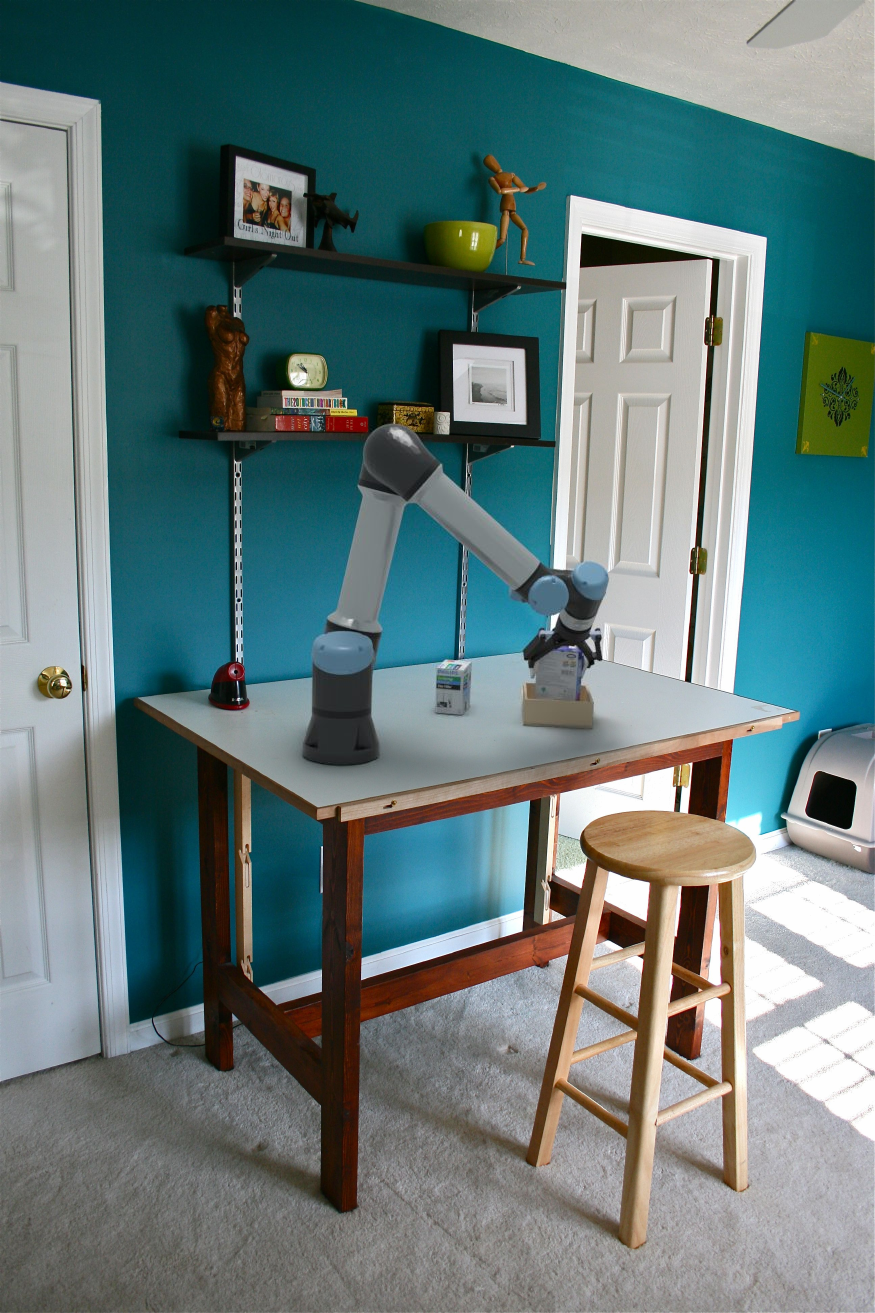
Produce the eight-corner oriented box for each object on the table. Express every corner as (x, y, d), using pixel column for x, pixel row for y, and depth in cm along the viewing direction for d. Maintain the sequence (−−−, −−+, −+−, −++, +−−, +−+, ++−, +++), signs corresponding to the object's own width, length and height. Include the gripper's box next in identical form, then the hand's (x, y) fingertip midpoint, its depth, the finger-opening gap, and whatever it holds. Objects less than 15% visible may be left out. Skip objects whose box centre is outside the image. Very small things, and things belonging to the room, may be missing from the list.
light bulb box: (462, 716, 227) (464, 670, 225) (434, 713, 229) (435, 667, 226) (470, 705, 238) (472, 661, 235) (443, 702, 239) (444, 658, 237)
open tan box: (523, 725, 221) (524, 699, 220) (520, 685, 259) (521, 663, 258) (592, 729, 220) (593, 702, 219) (579, 688, 258) (580, 666, 257)
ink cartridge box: (581, 700, 229) (584, 638, 226) (576, 705, 224) (580, 642, 221) (539, 695, 232) (542, 634, 229) (533, 700, 227) (536, 638, 224)
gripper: (524, 631, 208) (508, 687, 226) (631, 633, 211) (607, 687, 229) (521, 603, 212) (505, 659, 230) (626, 604, 215) (602, 660, 233)
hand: (555, 673), depth 230 cm, fingers closed on ink cartridge box, 11 cm apart
